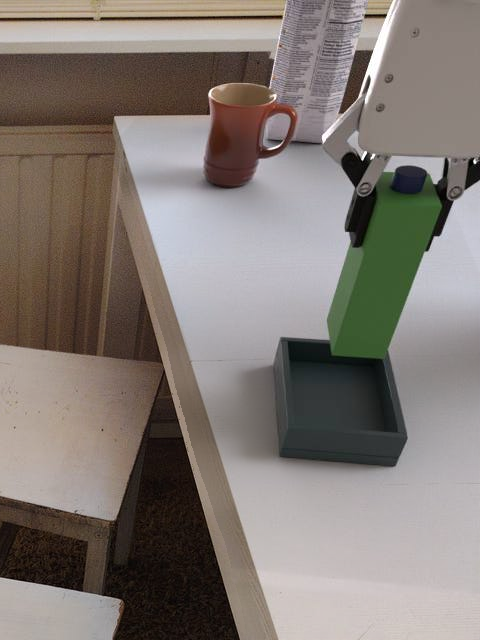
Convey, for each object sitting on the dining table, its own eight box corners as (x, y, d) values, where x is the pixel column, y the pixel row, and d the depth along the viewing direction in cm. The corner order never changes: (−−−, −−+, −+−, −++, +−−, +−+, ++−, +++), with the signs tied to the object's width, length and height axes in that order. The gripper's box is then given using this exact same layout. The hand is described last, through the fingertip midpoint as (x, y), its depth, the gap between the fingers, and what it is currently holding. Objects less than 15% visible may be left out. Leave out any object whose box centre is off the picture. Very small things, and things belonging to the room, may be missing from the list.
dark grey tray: (272, 364, 86) (280, 336, 83) (376, 371, 85) (386, 343, 82) (279, 456, 76) (287, 428, 74) (395, 466, 75) (408, 437, 73)
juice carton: (331, 147, 120) (395, -96, 99) (258, 142, 122) (305, -98, 101) (332, 125, 126) (393, -111, 105) (263, 120, 128) (309, -113, 107)
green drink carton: (326, 320, 76) (376, 154, 65) (376, 323, 76) (435, 156, 65) (331, 355, 73) (385, 186, 62) (384, 359, 72) (448, 189, 61)
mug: (188, 186, 114) (200, 101, 106) (205, 162, 118) (218, 79, 111) (275, 199, 110) (294, 113, 102) (289, 174, 115) (308, 90, 107)
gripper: (606, -53, 55) (486, 226, 69) (343, -55, 57) (280, 216, 71) (641, -23, 50) (506, 270, 64) (354, -27, 52) (284, 258, 66)
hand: (388, 239), depth 67 cm, fingers closed on green drink carton, 4 cm apart
